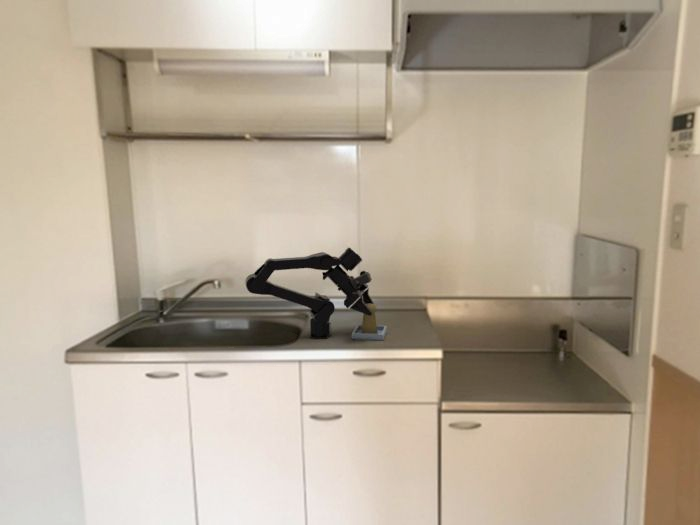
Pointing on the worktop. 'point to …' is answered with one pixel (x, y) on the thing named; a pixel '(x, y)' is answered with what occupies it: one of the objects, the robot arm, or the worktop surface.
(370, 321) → the cork
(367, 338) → the tray
